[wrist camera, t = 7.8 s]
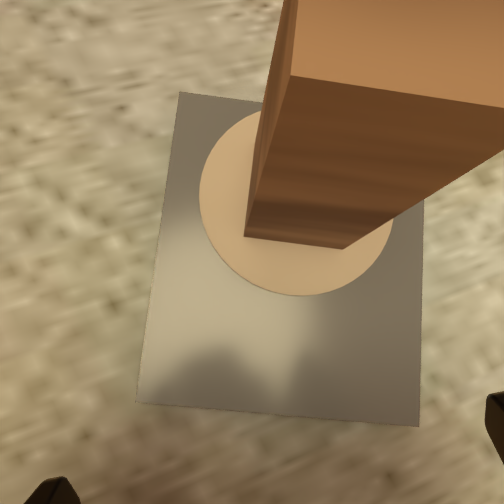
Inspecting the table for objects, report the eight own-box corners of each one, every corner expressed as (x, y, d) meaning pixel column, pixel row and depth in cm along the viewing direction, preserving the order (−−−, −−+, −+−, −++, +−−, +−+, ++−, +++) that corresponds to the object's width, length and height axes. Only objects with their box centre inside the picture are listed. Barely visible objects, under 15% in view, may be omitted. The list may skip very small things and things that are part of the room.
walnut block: (343, 249, 19) (557, 115, 7) (243, 236, 18) (290, 75, 7) (349, 156, 20) (550, -105, 8) (254, 142, 19) (314, -149, 7)
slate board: (403, 419, 19) (421, 428, 18) (141, 396, 18) (134, 403, 17) (411, 138, 22) (427, 122, 20) (182, 108, 21) (179, 89, 19)
